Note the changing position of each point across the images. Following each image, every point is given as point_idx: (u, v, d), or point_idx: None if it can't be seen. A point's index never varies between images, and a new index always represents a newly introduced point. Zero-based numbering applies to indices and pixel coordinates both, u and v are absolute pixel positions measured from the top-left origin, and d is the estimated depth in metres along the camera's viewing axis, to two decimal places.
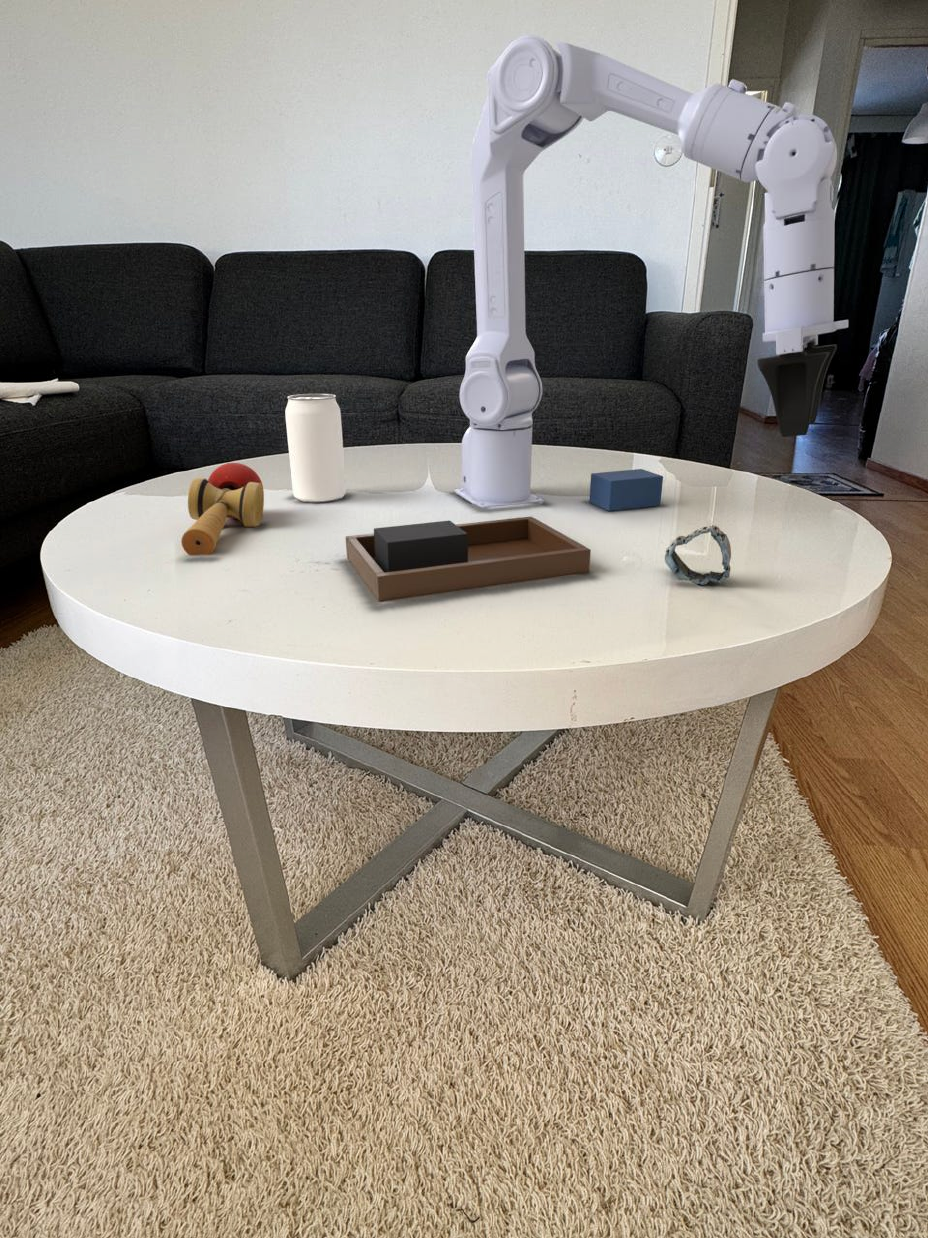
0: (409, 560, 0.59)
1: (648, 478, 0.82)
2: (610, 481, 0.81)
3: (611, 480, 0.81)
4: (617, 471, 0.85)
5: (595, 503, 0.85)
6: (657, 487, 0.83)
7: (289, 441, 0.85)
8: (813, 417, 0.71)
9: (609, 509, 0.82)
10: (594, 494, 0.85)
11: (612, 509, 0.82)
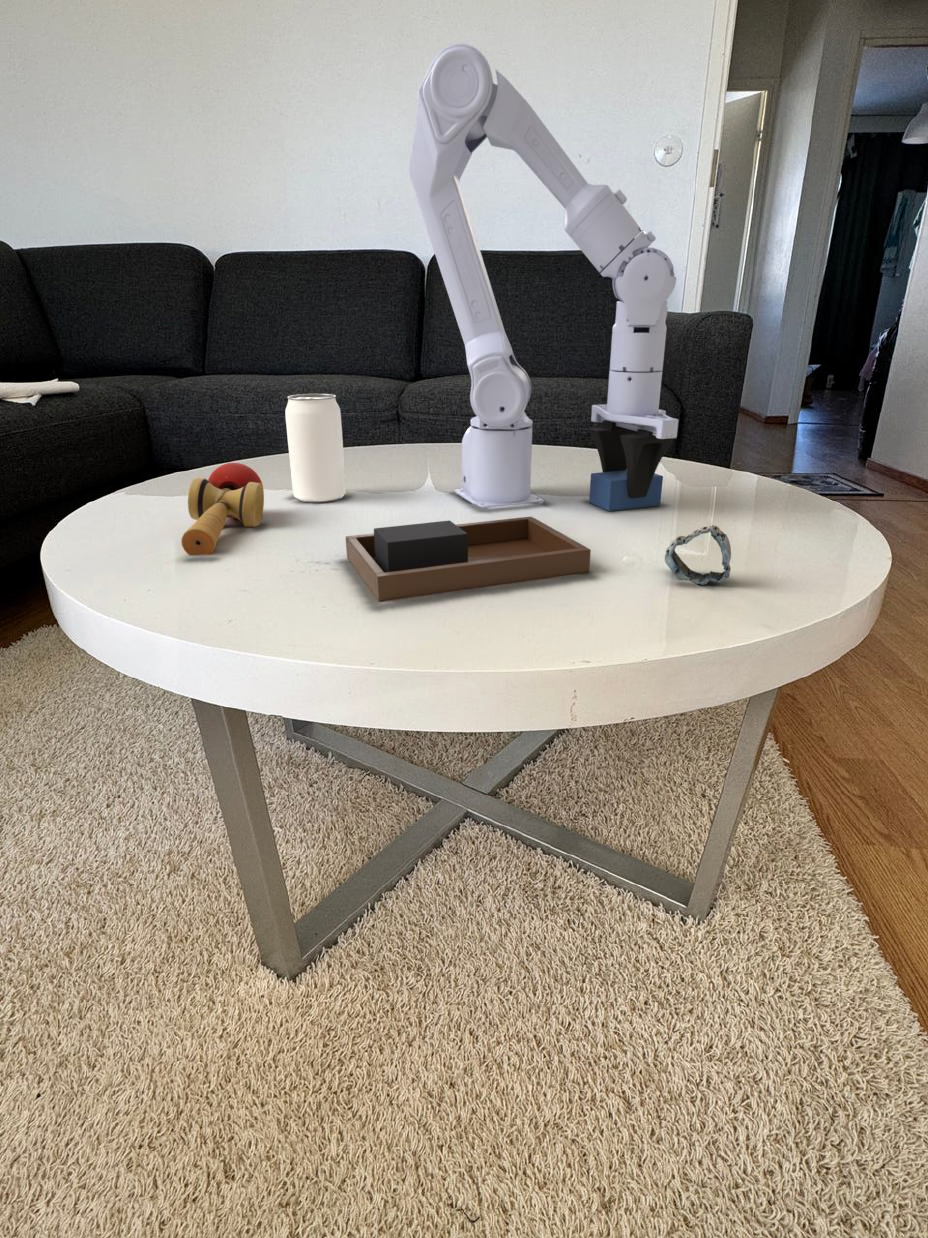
0: (409, 560, 0.59)
1: None
2: (610, 481, 0.81)
3: (611, 480, 0.81)
4: (617, 471, 0.86)
5: (595, 503, 0.85)
6: (657, 487, 0.83)
7: (289, 441, 0.85)
8: None
9: (609, 509, 0.82)
10: (594, 494, 0.85)
11: (612, 509, 0.82)
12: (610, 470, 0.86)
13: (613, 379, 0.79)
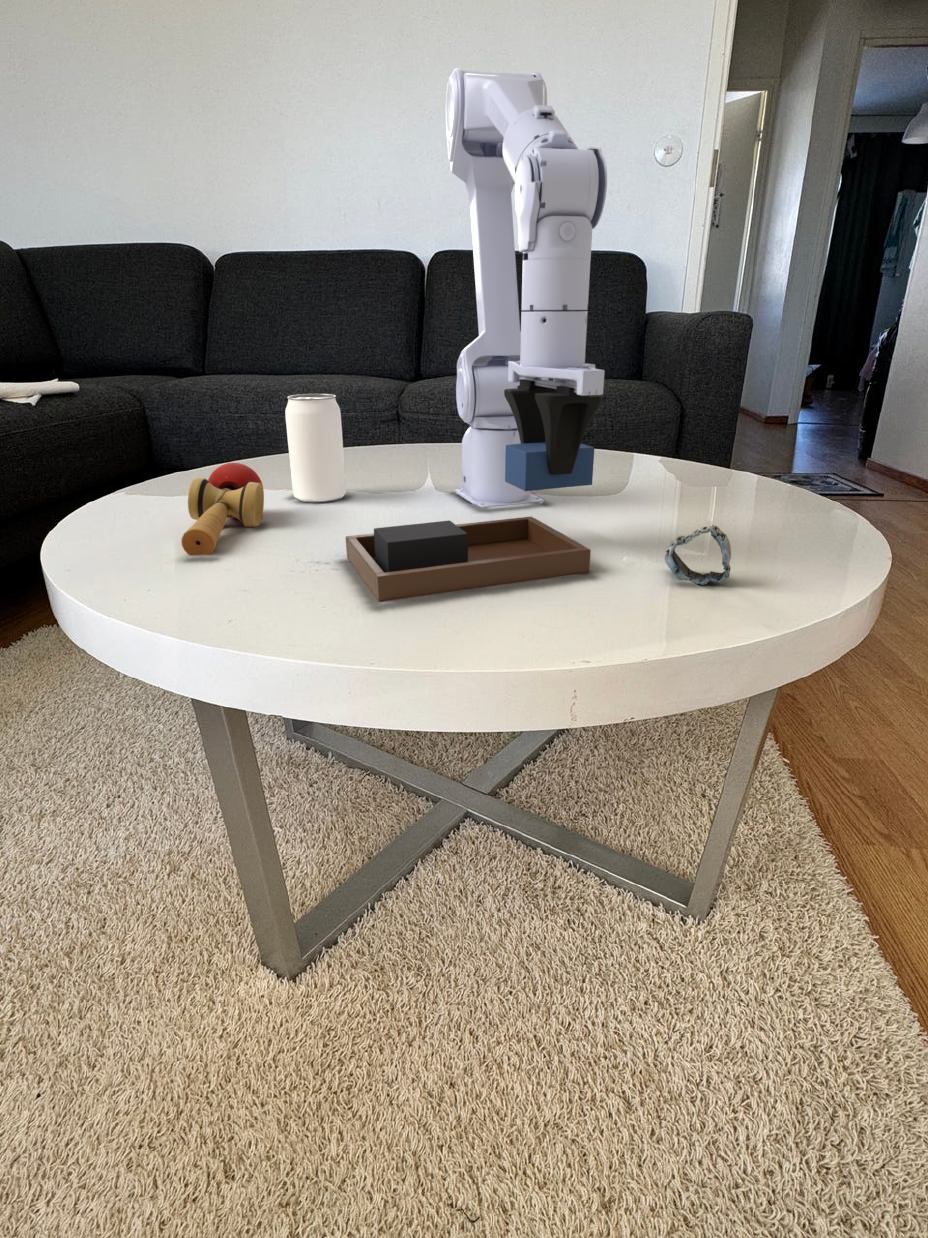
0: (409, 560, 0.59)
1: None
2: (525, 453, 0.64)
3: (527, 452, 0.64)
4: (539, 442, 0.68)
5: (511, 482, 0.68)
6: (587, 461, 0.66)
7: (289, 441, 0.85)
8: None
9: (525, 489, 0.65)
10: (509, 471, 0.68)
11: (529, 489, 0.65)
12: (530, 441, 0.69)
13: (525, 322, 0.62)
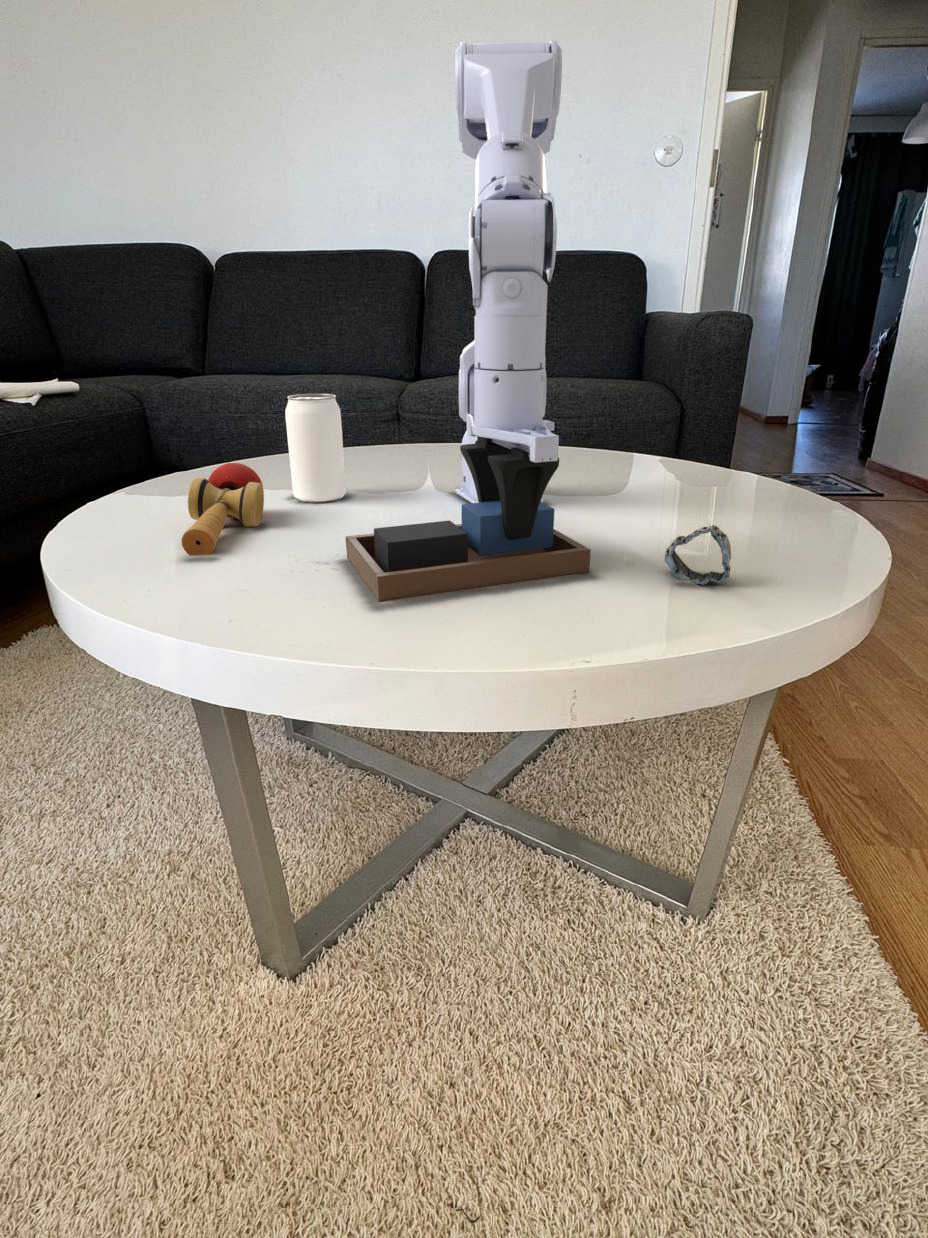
0: (409, 560, 0.59)
1: None
2: (479, 517, 0.60)
3: (481, 515, 0.60)
4: (497, 501, 0.65)
5: None
6: (547, 523, 0.63)
7: (289, 441, 0.85)
8: None
9: (480, 553, 0.61)
10: None
11: (485, 553, 0.62)
12: (488, 500, 0.65)
13: (477, 380, 0.58)
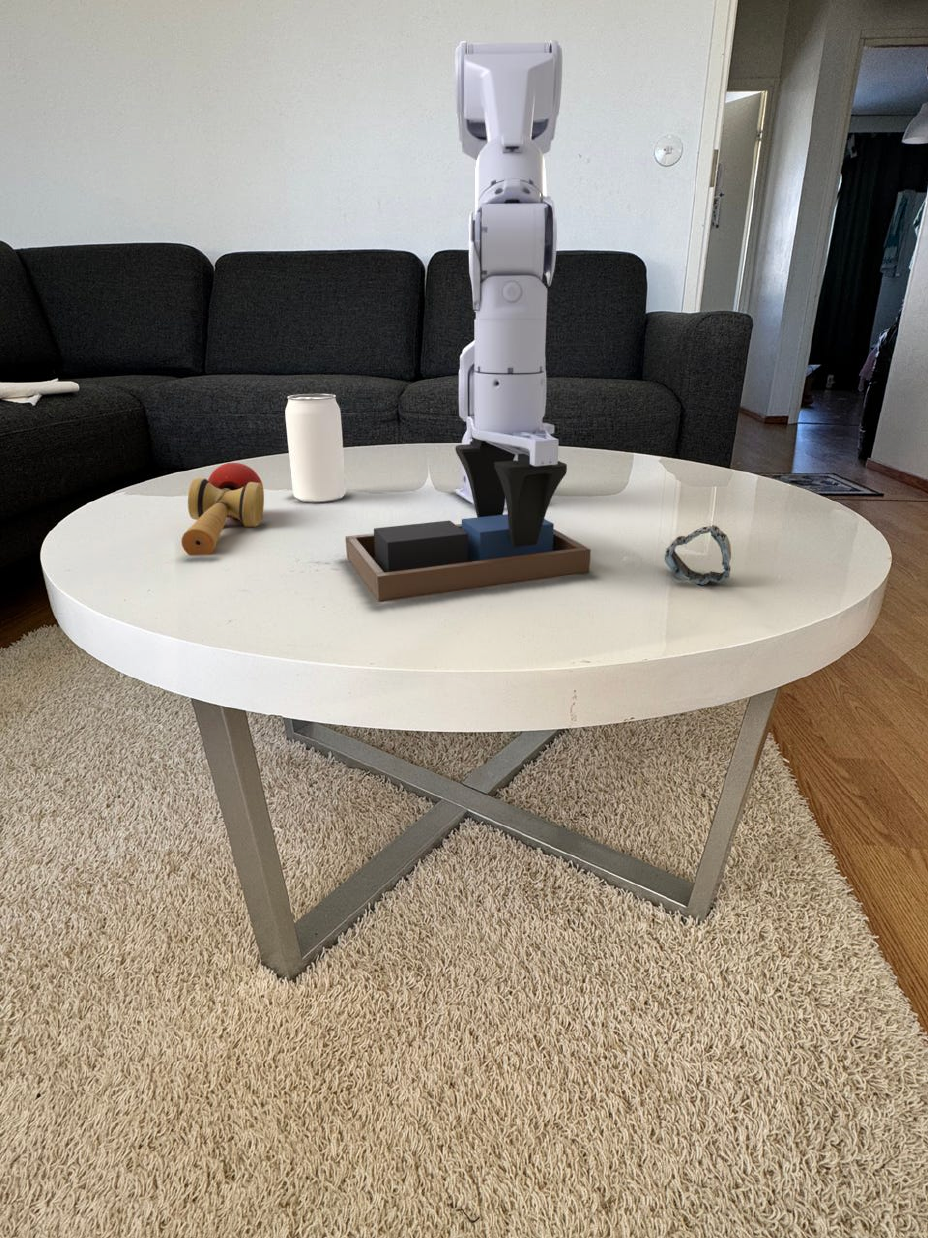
0: (409, 560, 0.59)
1: None
2: (479, 532, 0.61)
3: (481, 531, 0.61)
4: (497, 516, 0.65)
5: None
6: (546, 538, 0.63)
7: (289, 441, 0.85)
8: (500, 514, 0.67)
9: None
10: None
11: None
12: (482, 499, 0.66)
13: (477, 383, 0.58)
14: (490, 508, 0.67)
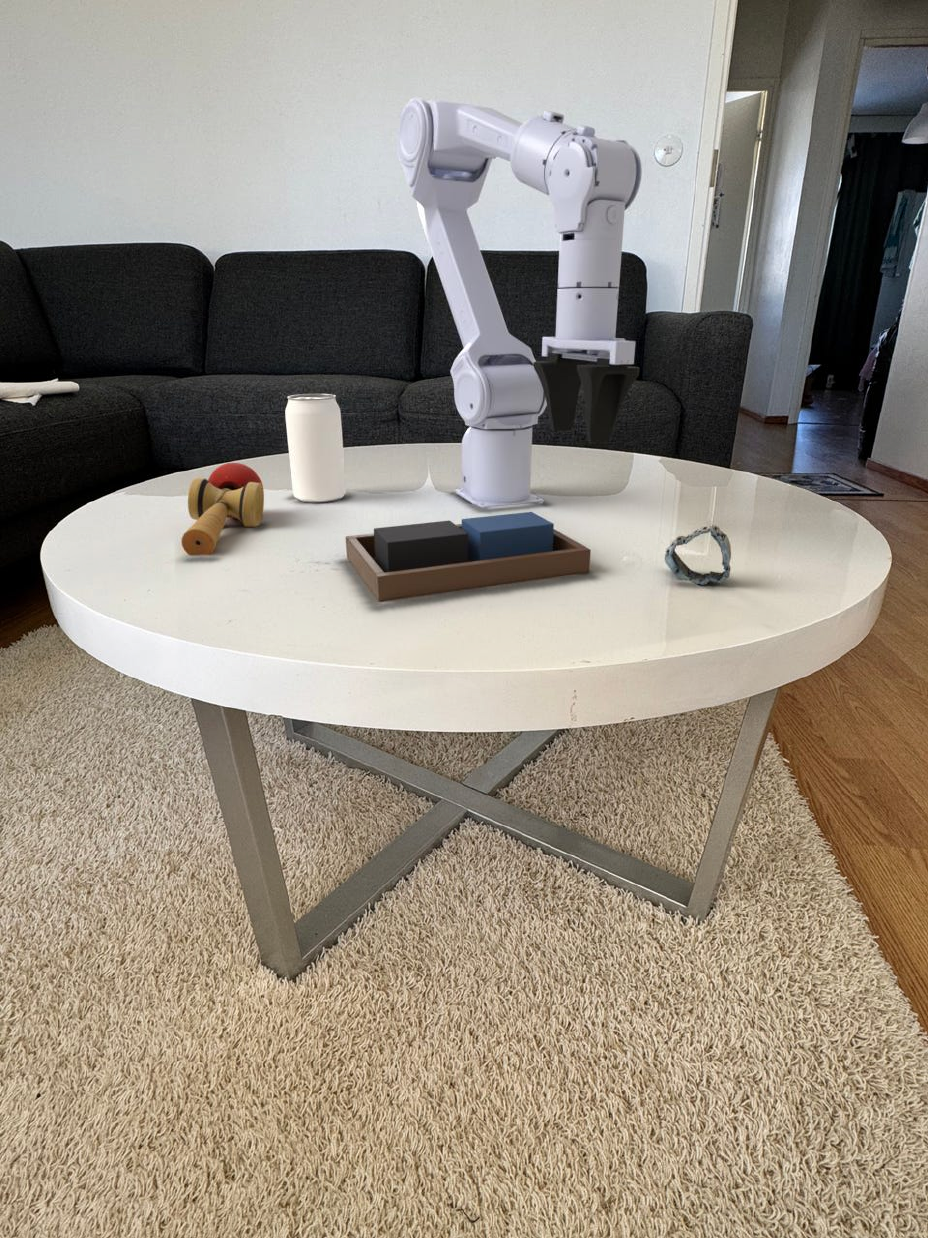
0: (409, 560, 0.59)
1: (533, 527, 0.62)
2: (479, 532, 0.61)
3: (481, 531, 0.61)
4: (497, 516, 0.65)
5: None
6: (546, 538, 0.63)
7: (289, 441, 0.85)
8: (571, 424, 0.76)
9: None
10: None
11: None
12: (557, 409, 0.75)
13: (561, 298, 0.67)
14: (563, 417, 0.76)
